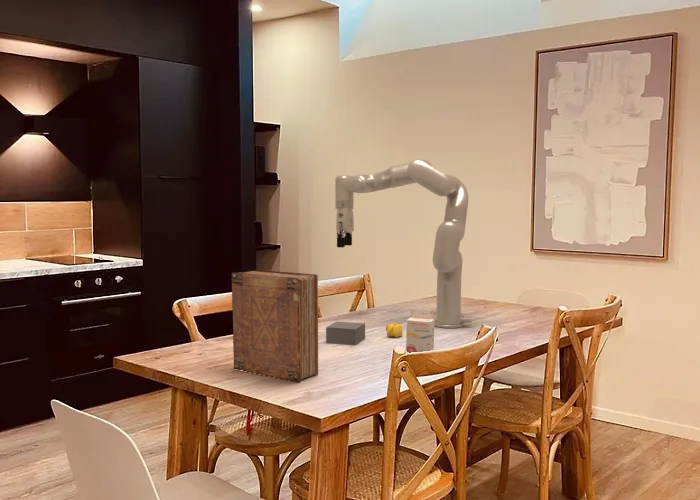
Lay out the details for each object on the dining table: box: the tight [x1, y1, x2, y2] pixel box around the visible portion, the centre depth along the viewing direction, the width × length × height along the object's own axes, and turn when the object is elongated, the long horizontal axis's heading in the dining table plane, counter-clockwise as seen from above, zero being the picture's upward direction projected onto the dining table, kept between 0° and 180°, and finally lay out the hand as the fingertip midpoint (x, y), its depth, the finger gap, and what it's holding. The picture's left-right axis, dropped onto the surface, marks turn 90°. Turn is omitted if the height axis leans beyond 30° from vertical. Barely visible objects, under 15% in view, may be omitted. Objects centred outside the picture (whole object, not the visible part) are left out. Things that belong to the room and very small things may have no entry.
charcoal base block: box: [325, 321, 366, 346], centre depth 248 cm, size 11×11×6 cm
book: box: [231, 268, 319, 383], centre depth 204 cm, size 25×9×30 cm, turn 57°
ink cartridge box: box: [405, 308, 435, 353], centre depth 228 cm, size 9×5×15 cm, turn 71°
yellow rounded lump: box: [385, 322, 403, 339], centre depth 255 cm, size 8×6×5 cm
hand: (344, 246), depth 287 cm, fingers open, 9 cm apart
